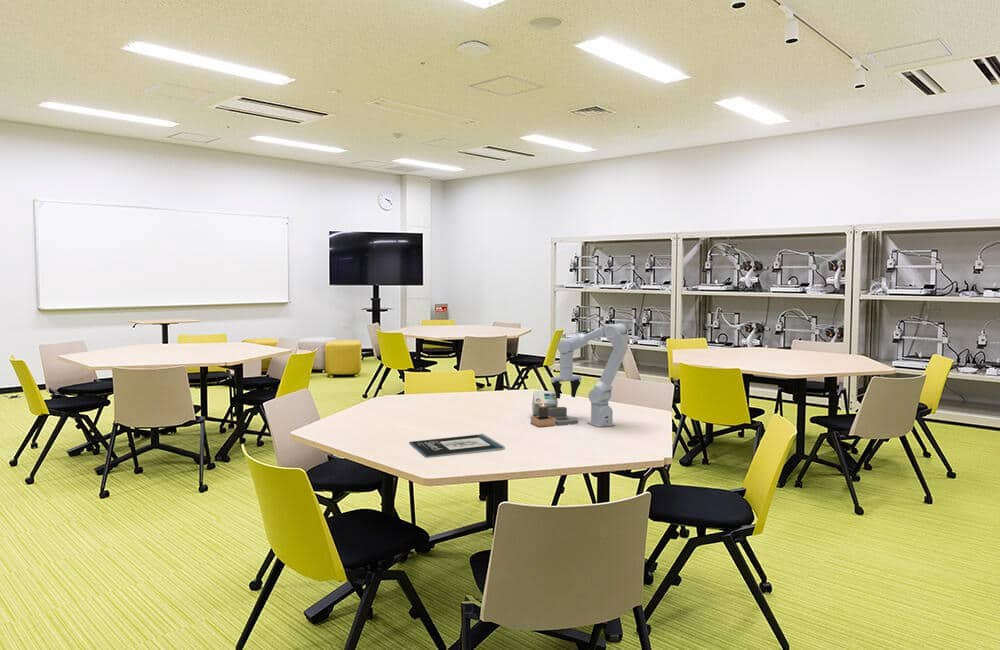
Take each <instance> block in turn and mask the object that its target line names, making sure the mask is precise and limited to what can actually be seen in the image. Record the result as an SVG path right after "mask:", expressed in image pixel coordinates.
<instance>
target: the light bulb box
mask: <svg viewBox="0 0 1000 650" xmlns="http://www.w3.org/2000/svg"><path fill="white" fill-rule="evenodd" d="M558 401H559V400H558V398H556V393H555V390H545V391H544V390H542V391H541V390H540V391H538V390H537V391H536V390H535V391H533V396H532V403H531V406H532V417H533V416H538V412H539V404H542V403H545V404H548V408H551V407H558V406H559V405H558V404H559V403H558Z"/></svg>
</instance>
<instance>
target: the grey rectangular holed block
mask: <svg viewBox="0 0 1000 650" xmlns="http://www.w3.org/2000/svg"><path fill="white" fill-rule="evenodd" d="M567 410H568V408H567V407H565V406H557V407H551V408H548V416H550V417H552V418H555V419H556V421H555V426H569V425H568V424H570V425H578V424H579V419H576V418H573V417H571V416H568V414H567V412H568V411H567ZM577 423H578V424H577Z"/></svg>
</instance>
